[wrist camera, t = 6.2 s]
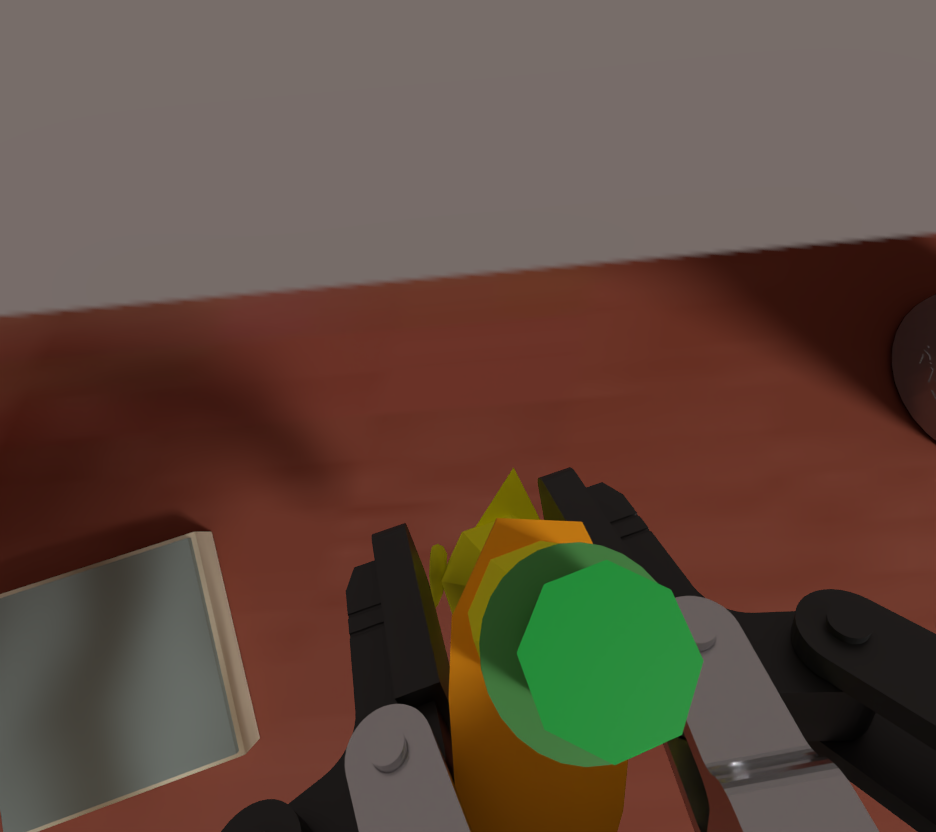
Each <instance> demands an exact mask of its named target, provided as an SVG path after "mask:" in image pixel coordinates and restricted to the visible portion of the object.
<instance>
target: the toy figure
mask: <svg viewBox="0 0 936 832" xmlns="http://www.w3.org/2000/svg"><path fill="white" fill-rule="evenodd" d="M446 563H447V553H446V551H445V549H444V547H443V546H441V545H439V544H437V545H434V546H432V549H431V553H430V570H429V578H430V588H431V593H432V597H433V601H434V605H435V608H436V607H437V605H438V603H439V601H440V599H441V596H442V594H443V589H444V591H445V594H446V597H447V600H448V602H449V605H450V608H451V611H452V614H453V615H452V625H451V649H450V674H449V710H450V724H451V738H452V753H453V767H454V781H455V787H456V790H457V793H458V795H459V798H460V800H461V803H462V805H463V808H464V811H465V813H466V816H467V818H468V821H469V824H470V826H471V829H472V831H473V832H617V830H618V827H619V823H620V820H621V816H622V813H623V807H624V796H625V786H626V776H627V765H628V759H630V758H632V757H634V756H636V755H639V754H641V753H643V752H645V751H647V750H650V749H652V748H654V747H656V746H658V745H661V744H663V743H665V742H667V741H669V740H672V739H674V738H676V737H678V736H680V735H682V733H683V730H684V726H685V723H686V719H687V716H688V712H689V709H690V706H691V702H692V699H693V695H694V692H695V688H696V685H697V682H698V678H699V675H700V671H701V668H702V664H703V661H704V660H703V658H702V656H701V654H700V652H699V649H698V647H697V645H696V643H695V641H694V638H693V636H692V634H691V632H690V630H689V628H688V625H687V623H686V621H685V619H684V617H683V614H682V612H681V610H680V608H679V606H678V603H677V601H676V599H675V597H674V595H673V593H672V590H671V589H669V588H666V587H664V586H662V585H660V584H658V583H657V582H656V581H655V580H654V579H653V578H652V577H651V576H650V575H649V574H648V573H647V572H646V571H645V570H644V569H643V568H642V567H641V566H640V565H638V564H637V563H635V562H634V561H632V560H631V559H629V558H628V557H626V556H625V555H624V554H622V553H619V552H617V551H614V550H612V549H609V548H607V547H604V546H601V545H595V544H593V543H592V541H591V539H590V537H589V535H588V533H587V531H586V529H585V527H584V524H583V522H576V521H554V520H540V519H539V517H538V515H537V513H536V511H535V509H534V507H533V505H532V503H531V501H530V499H529V497H528V495H527V493H526V491H525V489H524V487H523V485H522V483H521V481H520V479H519V477H518V475H517V473H516V471H515V469H514V468H513V469H512V471H511V472H510V474H509V475H508V477H507V479H506V480H505V482H504V483H503V485H502V486H501V488H500V490H499V491H498V493H497V494H496V496H495V497H494V499H493V501H492V502H491V504H490V505H489V507H488V508H487V510H486V512H485V513H484V515H483V516H482V518H481V519H480V521H479V523H478V524H477V526H476V527H474V528H472V529H469V530H466V531H464V532H462V533H461V535H460V537H459V539H458V542H457V544H456V546H455V548H454V550H453V553H452V555H451V557H450V559H449V561H448V564H447V566H446Z"/></svg>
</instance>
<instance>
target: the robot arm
mask: <svg viewBox="0 0 936 832" xmlns="http://www.w3.org/2000/svg"><path fill="white" fill-rule="evenodd" d="M892 369H893V374H894V380H895V384H896V386H897V389H898V392H899V394H900V397H901V399H902V401H903V403H904V405H905V406H906V408H907V409H908V411H909V413H910V414H911V416H912V417H913V419H914V420H915V421H916V422H917V423H918V424H919V425H920V426H921V428H922V429H923V430H924V431H925V432H926V433H927V434H928V435H930V436H931V437H932V438H933V439H935V440H936V294H935V295H933V296H931V297H929V298H927V299H926V300H924V301H922V302H921V303H919V304H917V305H916V306H915V307H914V308H913V309H912V310H911V311H910V312H909V313H908V314H907V315H906V316H905V317H904V319H903V321H902V322H901V324H900V326H899V328H898V330H897V332H896V335H895V339H894V343H893V346H892ZM538 487H539V493H540V498H541V504H542V510H543V515H544V520H554V521H576V522H583V524H584V527H585V529H586V531H587V533H588V535H589V537H590V539H591V541H592V543H593V544H595V545H601V546H604V547H607V548H609V549H612V550H614V551H617V552H619V553H622V554H624V555H625V556H626V557H628V558H629V559H631V560H632V561H634V562H635V563H637V564H638V565H640V566H641V567H642V568H643V569H644V570H645V571H646V572H647V573H648V574H649V575H650V576H651V577H652V578H653V579H654V580H655V581H656V582H657V583H658V584H660V585H662V586H664V587H666V588H669V589H671V590H672V593H673V595H674V597H675V599H676V601H677V603H678V606H679V608H680V610H681V612H682V614H683V617H684V619H685V621H686V623H687V625H688V628H689V630H690V632H691V634H692V636H693V638H694V641H695V643H696V645H697V647H698V649H699V652H700V654H701V656H702V658H703V660H704V661H703V664H702V668H701V671H700V675H699V678H698V682H697V685H696V688H695V692H694V695H693V699H692V702H691V706H690V709H689V712H688V716H687V719H686V723H685V726H684V730H683V733H682V735H680V736H678V737H676V738H674V739H672V740H669V741H667V742H665V743H663V745H664V748H665V751H666V754H667V756H668V759H669V762H670V765H671V768H672V770H673V773H674V776H675V779H676V781H677V784H678V787H679V790H680V793H681V795H682V798H683V801H684V804H685V806H686V809H687V812H688V815H689V817H690V820H691V823H692V826H693V829H694V831H695V832H879V830H878V829H877V827H876V825H875V824H874V822H873V820H872V819H871V817H870V815H869V814H868V812H867V810H866V809H865V807H864V805H863V804H862V802H861V800H860V799H859V797H858V795H857V794H856V792H855V790H854V789H853V787H852V786H851V784H850V782H852V783H853V784H854V785H856V786H857V787H858V788H860V789H861V790H862V791H864V792H865V793H866V794H868V795H869V796H870V797H872V798H873V799H875V800H876V801H877V802H879V803H880V804H881V805H883V806H884V807H885V808H887V809H888V810H889V811H891V812H892V813H893V814H895V815H896V816H897V817H899V818H900V819H901V820H903V821H904V822H906V823H907V824H908V825H910V826H911V827H912V828H914V829H915V830H916V831H918V832H936V634H935V633H933V632H931V631H929V630H927V629H925V628H923V627H921V626H919V625H917V624H915V623H913V622H911V621H909V620H907V619H906V618H904V617H902V616H900V615H898V614H896V613H894V612H892V611H890V610H888V609H886V608H884V607H882V606H880V605H878V604H876V603H875V602H873V601H871V600H869V599H867V598H864V597H862V596H860V595H857V594H854V593H851V592H847V591H843V590H834V589H827V590H819V591H815V592H812V593H810V594H808V595H806V596H805V597H804V598H803V599H802V600H801V601H800V602H799V604H798V605H797V608H796V611H791V612H766V613H743V612H736V611H733V610H729V609H726V608H724V607H723V606H721V605H719V604H718V603H716V602H714V601H711V600H709V599H706V598H705V597H703V596H702V595H701V594H700V593H699V592H698V591H697V590H696V589H695V588H694V587H693V586H692V584H691V583H690V582H689V580H688V579H687V578H686V576H685V575H684V574H683V573H682V571H681V570H680V569H679V567H678V566H677V565H676V563H675V562H674V561H673V559H672V558H671V557H670V555H669V554H668V553H667V552H666V550H665V549H664V548H663V546H662V545H661V544H660V542H659V541H658V540H657V538H656V537H655V536H654V535H653V533H652V532H651V531H649V529H648V527H647V525H646V524H645V523H644V521H643V520H642V519H641V518H640V516H638V515H637V512H636V511H635V510H634V508H633V507H632V506H631V504H630V503H629V502H628V500H627V499H626V498H625V497H624V495H623V494H621V493H619V492H618V491H616V490H614V489H613V488H611V487H609V486H608V485H606V484H604V483H603V482H601V483H599V484H596V485H593V486H590V487H587V488H586V487H585V486H584V484H583V483H582V481H581V480H580V478H579V477H578V475H577V474H576V472H575V471H574V470H573V469H572V468H570V467H569V468H566V469H564V470H561V471H558V472H555V473H552V474H549V475H546V476H543V477H540V478H538ZM372 544H373V551H374V558H375V561H372V562H369V563H366V564H363V565H360V566H357V567H355V568H354V570H353V573H352V575H351V578H350V581H349V584H348V587H347V590H346V598H347V611H348V616H349V619H348V623H349V634H350V648H351V661H352V673H353V686H354V698H355V711H356V719H355V726H354V731H353V734H352V736H351V738H350V741H349V743H348V746H347V748H346V750H345V752H344V754H343V755H342V757H341V758H340V760H339V761H338V762H337V763H336V765H335V766H334V767H333V768H332V769H331V770H330V771H329V772H328V773H327V774H326V775H324V776H323V777H322V778H321V779H320V780H318V781H317V782H316V783H314V784H313V785H312V786H311V787H309V788H308V789H307V790H306V791H304V792H303V793H302V794H301V795H299V796H298V797H297V798H295V799H294V800H293V801H292V802H290V803H289V804H286V803H284V802H282V801H279V800H275V799H267V800H262V801H258V802H256V803H253V804H251V805H250V806H248V807H246V808H244V809H243V810H242V811H240V812H239V813H238V814H237V815H235V816H234V817H233V818H232V819H231V820H230V821H229V822H228V824H227V825H226V826H225V827H224V829H223V830H222V831H221V832H473V831H472V829H471V826H470V824H469V821H468V818H467V816H466V813H465V811H464V808H463V805H462V803H461V800H460V798H459V795H458V793H457V790H456V787H455V781H454V767H453V753H452V738H451V724H450V710H449V674H450V666H449V662H448V657H447V653H446V649H445V645H444V641H443V637H442V633H441V629H440V625H439V621H438V617H437V613H436V609H435V605H434V601H433V597H432V593H431V589H430V586H429V583H428V580H427V576H426V574H425V571H424V568H423V565H422V563H421V560H420V558H419V555H418V553H417V550H416V548H415V545H414V542H413V540H412V537H411V535H410V532H409V530H408V527H407V525H406V523H404V524H401V525H398V526H395V527H392V528H389V529H386V530H384V531H381V532H378V533H375V534H372ZM847 779H848V780H849V781H850V782H849V781H848V780H847Z"/></svg>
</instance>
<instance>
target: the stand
mask: <svg viewBox="0 0 936 832" xmlns="http://www.w3.org/2000/svg"><path fill="white" fill-rule="evenodd" d="M259 738H260V736H259V732H258V728H257V724H256V719H255V715H254V711H253V706H252V702H251V698H250V694H249V689H248V685H247V681H246V676H245V672H244V668H243V664H242V659H241V655H240V651H239V647H238V642H237V638H236V634H235V629H234V625H233V621H232V617H231V612H230V608H229V604H228V600H227V595H226V591H225V587H224V582H223V578H222V574H221V570H220V565H219V561H218V557H217V552H216V548H215V544H214V540H213V535H212V532H192V533H189V534H186V535H182V536H179V537H176V538H173V539H170V540H167V541H164V542H161V543H158V544H155V545H151V546H148V547H145V548H142V549H139V550H136V551H133V552H130V553H127V554H124V555H120V556H117V557H114V558H111V559H108V560H105V561H102V562H99V563H96V564H93V565H89V566H86V567H83V568H80V569H77V570H74V571H71V572H68V573H65V574H61V575H58V576H55V577H52V578H49V579H46V580H43V581H40V582H37V583H34V584H30V585H27V586H24V587H21V588H18V589H15V590H12V591H9V592H6V593H3V594H0V811H1V818H2V825H3V832H38V831H40V830H43V829H46V828H49V827H51V826H54V825H57V824H59V823H62V822H65V821H67V820H70V819H73V818H75V817H78V816H81V815H84V814H86V813H89V812H92V811H94V810H97V809H100V808H102V807H105V806H108V805H110V804H113V803H116V802H118V801H121V800H124V799H127V798H129V797H132V796H135V795H137V794H140V793H143V792H145V791H148V790H151V789H153V788H156V787H159V786H162V785H164V784H167V783H170V782H172V781H175V780H178V779H180V778H183V777H186V776H188V775H191V774H194V773H196V772H199V771H202V770H205V769H207V768H210V767H213V766H215V765H218V764H221V763H223V762H226V761H229V760H231V759H234V758H237V757H240V756H242V755H245V754H246V753H247V752H248V751H249V750H250V749H251V748H252V746H253V745H254V744H255V743H256V742H257V741H258V740H259Z"/></svg>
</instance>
